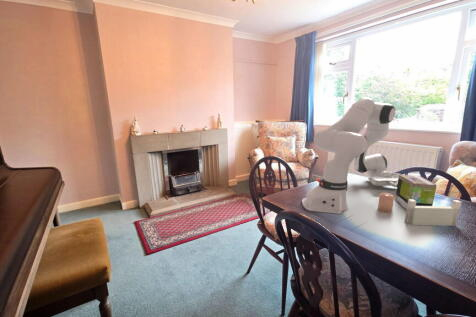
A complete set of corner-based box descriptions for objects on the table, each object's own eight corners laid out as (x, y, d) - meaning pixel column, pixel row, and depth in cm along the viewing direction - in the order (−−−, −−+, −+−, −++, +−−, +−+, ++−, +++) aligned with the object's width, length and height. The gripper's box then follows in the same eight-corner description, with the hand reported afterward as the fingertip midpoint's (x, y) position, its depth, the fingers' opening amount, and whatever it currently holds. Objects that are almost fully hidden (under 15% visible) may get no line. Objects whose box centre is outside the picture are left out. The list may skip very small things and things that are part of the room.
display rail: (407, 224, 99) (411, 201, 97) (404, 222, 101) (408, 199, 99) (456, 225, 98) (461, 202, 95) (452, 223, 100) (457, 200, 97)
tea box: (431, 213, 109) (437, 184, 105) (408, 212, 111) (413, 183, 107) (414, 201, 123) (419, 174, 119) (394, 199, 125) (398, 174, 121)
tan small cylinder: (381, 212, 110) (383, 197, 108) (375, 207, 116) (377, 192, 114) (394, 213, 110) (397, 197, 108) (387, 207, 116) (389, 192, 114)
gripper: (367, 173, 141) (379, 180, 128) (401, 173, 140) (417, 180, 127) (366, 182, 143) (377, 190, 129) (400, 183, 141) (415, 191, 128)
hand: (397, 186), depth 128 cm, fingers closed
